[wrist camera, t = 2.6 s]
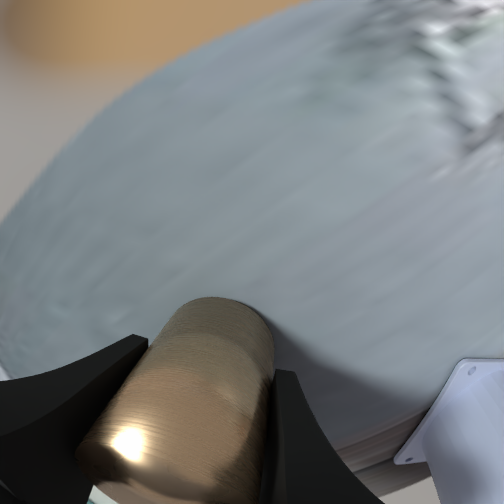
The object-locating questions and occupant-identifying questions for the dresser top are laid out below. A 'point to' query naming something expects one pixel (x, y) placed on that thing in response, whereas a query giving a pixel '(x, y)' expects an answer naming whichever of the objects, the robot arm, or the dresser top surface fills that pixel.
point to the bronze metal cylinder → (188, 413)
